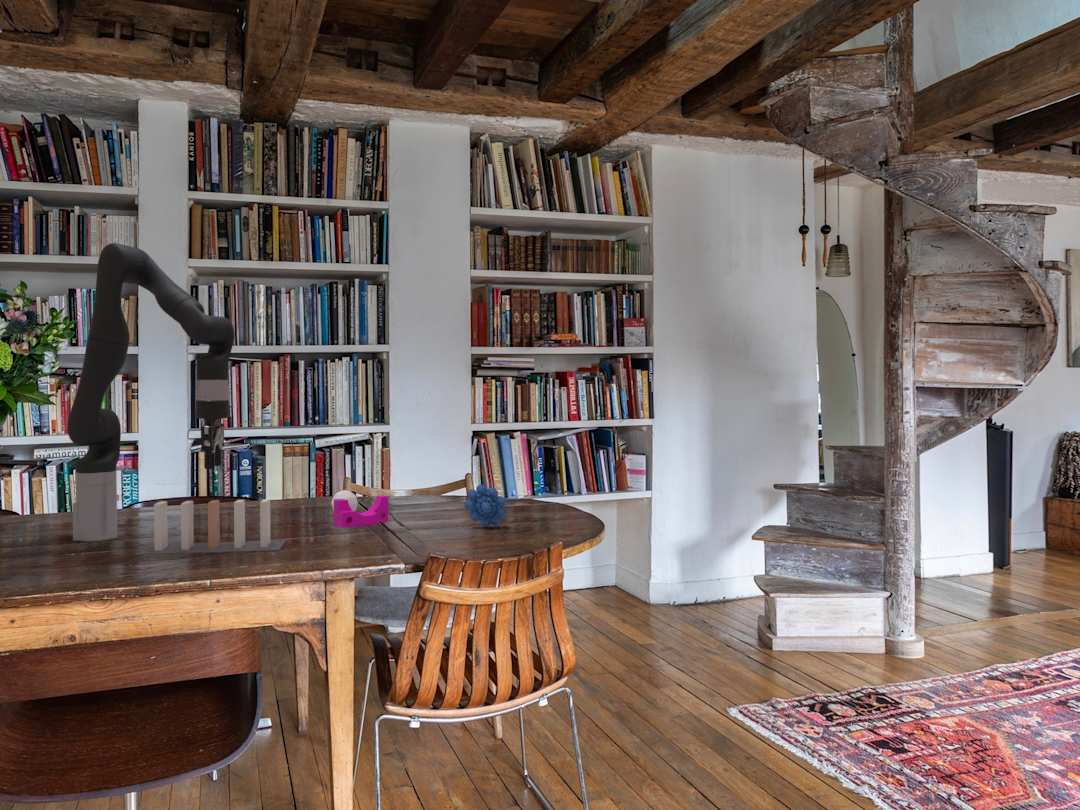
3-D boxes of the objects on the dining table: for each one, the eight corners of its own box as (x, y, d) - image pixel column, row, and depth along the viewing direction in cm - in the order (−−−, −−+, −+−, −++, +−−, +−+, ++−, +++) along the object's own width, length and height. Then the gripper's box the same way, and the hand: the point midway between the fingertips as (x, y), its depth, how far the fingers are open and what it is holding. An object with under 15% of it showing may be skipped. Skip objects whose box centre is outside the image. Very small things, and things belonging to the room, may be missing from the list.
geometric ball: (345, 519, 242) (345, 492, 242) (325, 517, 246) (325, 490, 246) (363, 515, 249) (363, 489, 249) (343, 513, 253) (343, 487, 253)
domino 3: (208, 548, 196) (207, 503, 196) (212, 544, 201) (212, 500, 201) (215, 548, 196) (214, 502, 196) (219, 544, 201) (219, 500, 201)
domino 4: (234, 548, 197) (234, 502, 197) (238, 544, 202) (238, 499, 202) (241, 548, 197) (241, 502, 197) (245, 544, 202) (244, 499, 202)
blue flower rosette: (465, 530, 224) (465, 486, 223) (464, 526, 230) (464, 483, 230) (507, 529, 225) (507, 485, 225) (505, 525, 232) (505, 483, 231)
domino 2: (181, 549, 195) (180, 503, 195) (186, 545, 200) (186, 500, 200) (188, 549, 195) (188, 503, 195) (193, 545, 200) (193, 500, 200)
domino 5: (260, 547, 198) (260, 502, 198) (263, 543, 203) (263, 499, 203) (267, 547, 198) (267, 501, 198) (270, 543, 203) (270, 498, 203)
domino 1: (154, 550, 194) (154, 504, 194) (160, 546, 199) (160, 501, 198) (161, 550, 194) (161, 504, 194) (167, 546, 199) (167, 501, 199)
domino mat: (135, 555, 190) (135, 554, 190) (150, 545, 202) (150, 544, 202) (279, 551, 195) (279, 549, 195) (285, 541, 207) (285, 540, 207)
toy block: (342, 529, 227) (342, 502, 227) (333, 525, 232) (333, 499, 232) (392, 523, 236) (392, 497, 236) (382, 520, 241) (382, 495, 241)
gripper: (203, 398, 204) (203, 464, 204) (188, 399, 190) (189, 470, 190) (234, 398, 205) (235, 464, 206) (222, 399, 191) (223, 470, 192)
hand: (213, 467), depth 198 cm, fingers open, 7 cm apart
